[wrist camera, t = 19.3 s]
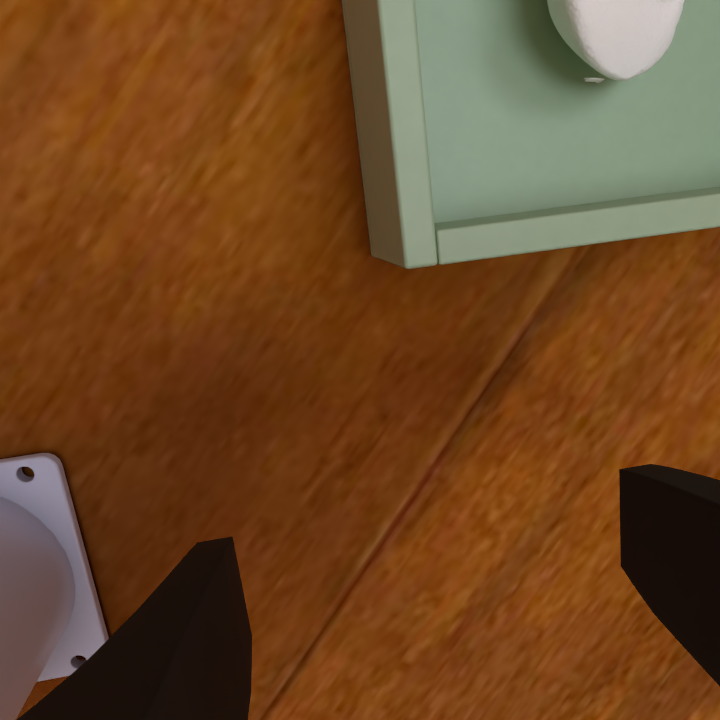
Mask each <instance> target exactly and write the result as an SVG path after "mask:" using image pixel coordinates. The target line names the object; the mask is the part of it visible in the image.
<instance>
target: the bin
mask: <svg viewBox="0 0 720 720" xmlns="http://www.w3.org/2000/svg"><path fill="white" fill-rule="evenodd" d="M342 8H343V17H344V25H345V34H346V42H347V51H348V60H349V68H350V77H351V85H352V94H353V102H354V111H355V120H356V128H357V137H358V145H359V154H360V162H361V171H362V180H363V188H364V197H365V205H366V214H367V223H368V231H369V240H370V248H371V256H372V257H376V258H379V259H382V260H384V261H387V262H390V263H392V264H395V265H398V266H400V267H403V268H406V269H414V268H421V267H429V266H435V265H436V264H440V265H444V264H452V263H459V262H466V261H474V260H481V259H488V258H496V257H503V256H511V255H518V254H525V253H533V252H540V251H547V250H555V249H562V248H569V247H577V246H584V245H591V244H599V243H606V242H613V241H621V240H628V239H635V238H643V237H650V236H657V235H665V234H672V233H679V232H687V231H694V230H701V229H709V228H716V227H720V0H685V1H684V3H683V10H682V13H681V16H680V18H679V22H678V24H677V25H676V29H675V33H674V36H673V39H672V42H671V44H670V46H669V48H668V49H667V50H666V51H665V53H664V54H663V56H662V58H661V59H660V60H658V61H657V62H656V63H655V64H654V65H653V66H652V67H651V68H650V69H649V70H648V71H646V72H645V73H643V74H641V75H639V76H636V77H634V78H631V79H630V80H627V81H616V80H612V79H610V78H607V77H605V76H603V75H602V74H600V73H599V72H598V71H596V70H595V69H594V68H592V67H591V66H590V65H589V64H587V63H586V62H585V61H583V60H582V59H581V58H580V57H579V56H578V55H577V54H576V53H575V52H574V51H573V50H572V49H571V48H570V47H569V46H568V45H567V43H566V42H565V41H564V40H563V38H562V37H561V35H560V34H559V32H558V31H557V29H556V27H555V25H554V23H553V21H552V18H551V16H550V12H549V8H548V4H547V0H342ZM584 78H601V79H604V80H603V81H601V82H599V83H596V82H586V81H585V80H586V79H584Z"/></svg>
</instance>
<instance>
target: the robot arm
mask: <svg viewBox="0 0 720 720" xmlns="http://www.w3.org/2000/svg"><path fill="white" fill-rule="evenodd" d="M22 467H29V468H31V469H32V470H33V472H34V477H28V476H26V475H25V474H24V473H23V471H22ZM619 473H620V537H621V567H622V568H623V570H624V571H625V573H626V574H627V576H628V577H629V579H630V580H631V582H632V583H633V585H634V586H635V588H636V589H637V591H638V592H639V594H640V595H641V596H642V598H643V599H644V601H645V602H646V603H647V605H648V606H649V607H650V609H651V610H652V612H653V613H654V614H655V615H656V616H657V617H658V619H659V620H660V621H661V622H662V623H663V624H664V625H665V627H666V628H667V629H668V630H669V631H670V632H671V633H672V634H673V635H674V637H675V638H676V639H677V640H678V641H679V642H680V643H681V644H682V645H683V647H684V648H685V649H686V650H687V651H688V652H689V653H690V654H691V655H692V656H693V657H694V659H695V660H696V661H697V662H698V663H699V664H700V665H701V666H702V667H703V668H704V669H705V671H706V672H707V673H708V674H709V675H710V676H711V677H712V678H713V679H714V680H715V681H716V683H717V684H718V685H719V686H720V480H717V479H713V478H710V477H706V476H702V475H699V474H695V473H691V472H687V471H683V470H679V469H675V468H670V467H665V466H660V465H653V464H648V465H642V466H637V467H631V468H625V469H619ZM77 655H80V656H83V657H85V658H86V660H79V659H77V658H76V656H77ZM251 670H252V634H251V629H250V624H249V619H248V614H247V609H246V604H245V599H244V594H243V588H242V583H241V578H240V573H239V568H238V563H237V558H236V553H235V548H234V543H233V538H232V537H227V538H221V539H215V540H210V541H204V542H198V543H197V544H196V545H195V546H194V547H193V548H192V549H191V550H190V551H189V552H188V553H187V554H186V555H185V557H184V558H183V559H182V560H181V561H180V562H179V564H178V565H177V566H176V567H175V568H174V569H173V570H172V572H171V573H170V574H169V575H168V576H167V577H166V579H165V580H164V581H163V582H162V583H161V584H160V585H159V586H158V587H157V589H156V590H155V591H154V592H153V593H152V594H151V595H150V596H149V597H148V599H147V600H146V601H145V602H144V603H143V604H142V605H141V606H140V607H139V609H138V610H137V611H136V612H135V613H134V614H133V615H132V616H131V617H130V618H129V619H128V620H127V621H126V622H125V623H124V624H123V625H122V626H121V627H120V628H119V629H118V630H117V631H116V632H115V633H114V634H113V635H112V636H111V637H110V638H109V637H108V633H107V630H106V626H105V622H104V618H103V615H102V611H101V607H100V603H99V600H98V596H97V592H96V588H95V585H94V581H93V577H92V573H91V570H90V566H89V562H88V559H87V555H86V551H85V547H84V544H83V540H82V536H81V532H80V529H79V525H78V521H77V517H76V514H75V510H74V506H73V502H72V499H71V495H70V491H69V487H68V484H67V480H66V476H65V472H64V469H63V465H62V463H61V461H60V459H59V458H58V457H56V456H55V455H53V454H50V453H38V454H31V455H25V456H19V457H12V458H6V459H0V720H16V718H17V716H18V715H19V713H20V711H21V709H22V707H23V706H24V704H25V702H26V700H27V698H28V696H29V695H30V693H31V691H32V689H33V687H34V685H35V684H36V682H39V681H44V680H49V679H55V678H60V677H65V676H69V677H68V678H67V679H66V680H64V681H63V682H62V683H61V684H60V685H58V686H57V687H56V688H55V689H54V690H53V691H51V692H50V693H49V694H48V695H47V696H45V697H44V698H43V699H42V700H41V701H39V702H38V703H37V704H36V705H35V706H33V707H32V708H31V709H30V710H28V711H27V712H26V713H25V714H23V715H22V716H21V717H20V718H18V719H17V720H247V719H248V712H249V704H250V696H251Z"/></svg>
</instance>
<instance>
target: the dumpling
mask: <svg viewBox="0 0 720 720" xmlns="http://www.w3.org/2000/svg"><path fill="white" fill-rule="evenodd" d="M684 1H685V0H547V4H548V8H549V12H550V16H551V18H552V21H553V23H554V25H555V27H556V29H557V31H558V32H559V34H560V35H561V37H562V38H563V40H564V41H565V42H566V43H567V45H568V46H569V47H570V48H571V49H572V50H573V51H574V52H575V53H576V54H577V55H578V56H579V57H580V58H581V59H582V60H583V61H585V62H586V63H587V64H589V65H590V66H591V67H592V68H594V69H595V70H596V71H598V72H599V73H600V74H602V75H603V76H605V77H607V78H610V79H612V80H616V81H627V80H630V79H631V78H634V77H636V76H639V75H641V74H643V73H645V72H646V71H648V70H649V69H650V68H651V67H652V66H653V65H654V64H655V63H656V62H657V61H658V60H660V59H661V58H662V56H663V54H664V53H665V51H666V50H667V49H668V48H669V46H670V44H671V42H672V39H673V36H674V33H675V29H676V25H677V24H678V22H679V18H680V16H681V13H682V10H683V3H684ZM584 79H586V80H585V81H586V82H596V83H599V82H601V81H603V80H604V79H601V78H584Z"/></svg>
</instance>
